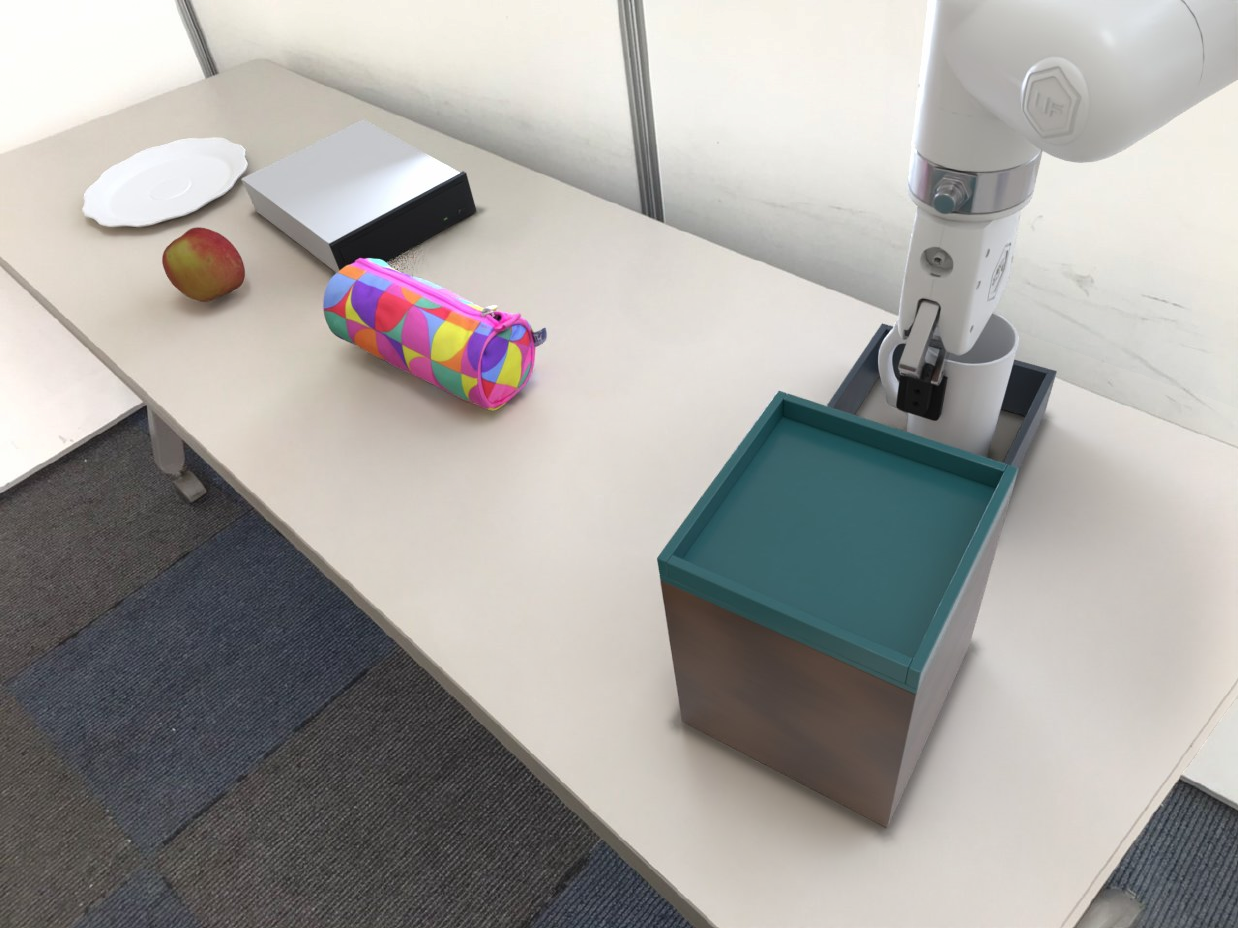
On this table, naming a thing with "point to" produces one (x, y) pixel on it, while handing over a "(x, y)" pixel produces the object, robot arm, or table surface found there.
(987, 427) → the mug
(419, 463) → the table surface
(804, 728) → the riser
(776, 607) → the tray
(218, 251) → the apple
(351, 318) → the pencil case
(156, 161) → the plate
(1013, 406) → the dark gray square frame
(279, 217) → the disc drive
